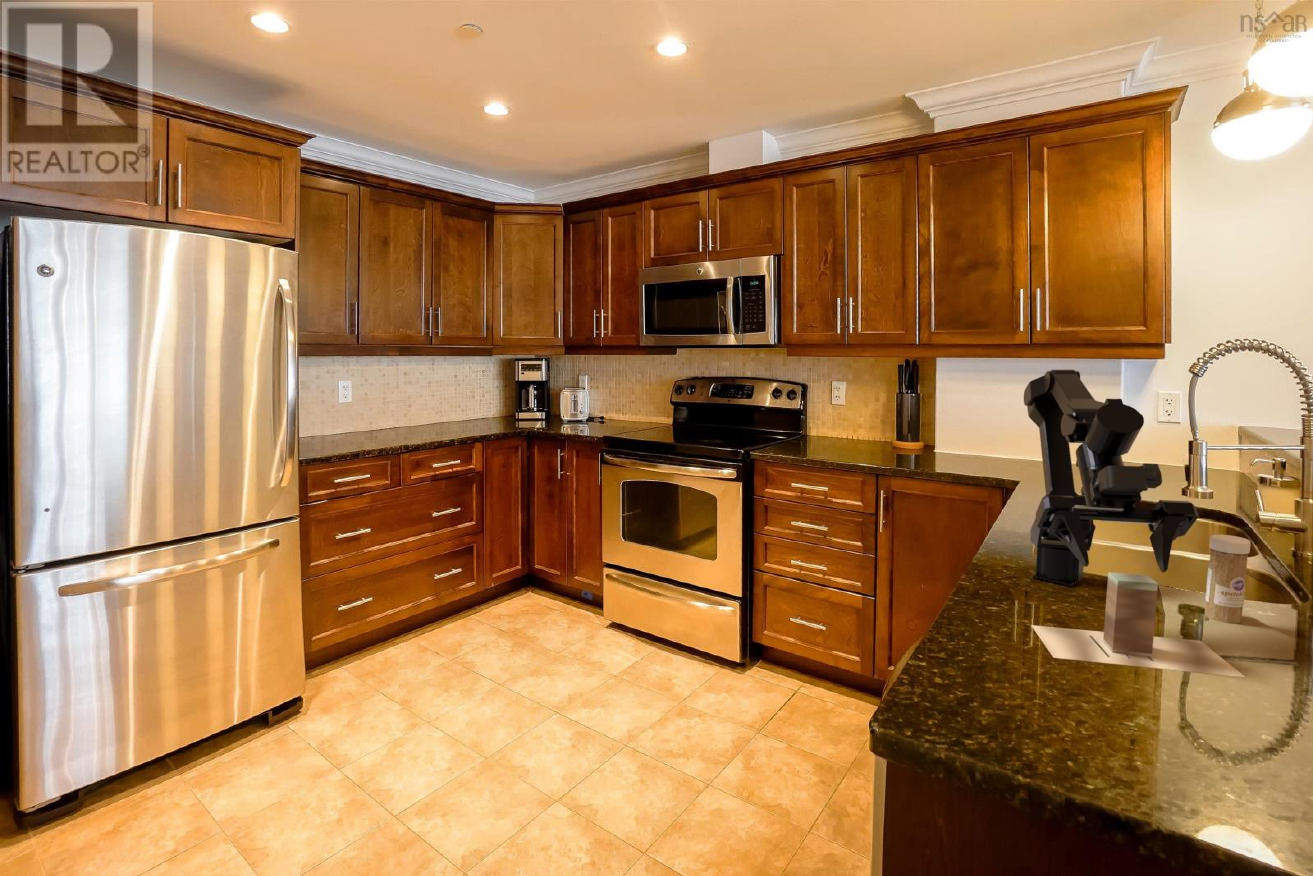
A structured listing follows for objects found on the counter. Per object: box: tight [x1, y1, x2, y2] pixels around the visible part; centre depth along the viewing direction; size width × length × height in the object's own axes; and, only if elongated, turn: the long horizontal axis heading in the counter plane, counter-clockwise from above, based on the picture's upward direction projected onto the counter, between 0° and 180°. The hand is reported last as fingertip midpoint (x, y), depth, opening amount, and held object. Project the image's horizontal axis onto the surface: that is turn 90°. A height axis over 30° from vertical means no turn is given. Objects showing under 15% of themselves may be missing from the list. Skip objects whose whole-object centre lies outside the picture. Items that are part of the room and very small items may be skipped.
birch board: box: [1031, 624, 1247, 678], centre depth 89 cm, size 21×11×1 cm, turn 74°
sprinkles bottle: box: [1204, 534, 1251, 625], centre depth 99 cm, size 5×5×13 cm
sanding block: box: [1103, 571, 1159, 657], centre depth 88 cm, size 4×4×10 cm
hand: (1125, 568), depth 90 cm, fingers open, 9 cm apart
